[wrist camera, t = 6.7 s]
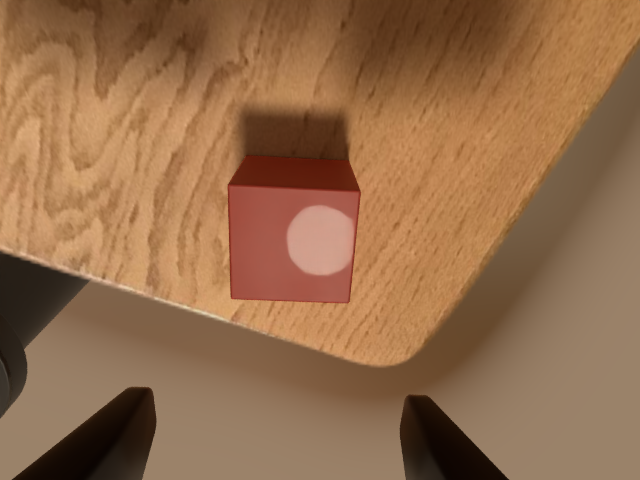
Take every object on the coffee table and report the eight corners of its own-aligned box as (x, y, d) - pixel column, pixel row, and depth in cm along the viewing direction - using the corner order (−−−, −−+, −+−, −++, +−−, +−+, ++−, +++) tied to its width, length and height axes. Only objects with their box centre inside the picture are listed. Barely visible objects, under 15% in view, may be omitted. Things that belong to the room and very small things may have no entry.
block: (341, 253, 20) (349, 304, 16) (246, 249, 20) (230, 299, 16) (349, 160, 19) (361, 190, 14) (245, 154, 18) (226, 183, 14)
